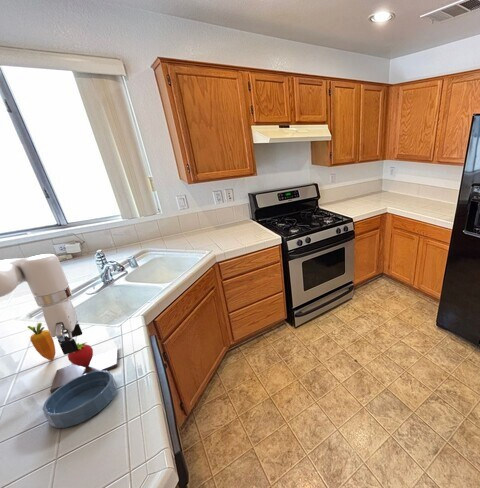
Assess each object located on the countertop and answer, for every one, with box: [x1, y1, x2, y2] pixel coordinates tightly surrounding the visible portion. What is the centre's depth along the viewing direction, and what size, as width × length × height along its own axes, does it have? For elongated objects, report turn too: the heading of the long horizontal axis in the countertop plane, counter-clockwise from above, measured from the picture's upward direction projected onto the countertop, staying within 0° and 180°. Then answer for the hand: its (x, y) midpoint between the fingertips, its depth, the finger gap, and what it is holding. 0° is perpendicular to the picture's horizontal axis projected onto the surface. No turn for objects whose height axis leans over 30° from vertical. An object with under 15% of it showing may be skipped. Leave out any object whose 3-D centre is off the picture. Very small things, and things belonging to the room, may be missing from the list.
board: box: [49, 347, 119, 394], centre depth 86 cm, size 16×10×1 cm, turn 127°
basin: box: [42, 370, 118, 429], centre depth 73 cm, size 14×14×5 cm
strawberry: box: [67, 341, 94, 367], centre depth 84 cm, size 6×8×10 cm
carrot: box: [27, 322, 56, 361], centre depth 89 cm, size 5×5×15 cm
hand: (73, 343), depth 82 cm, fingers open, 9 cm apart
